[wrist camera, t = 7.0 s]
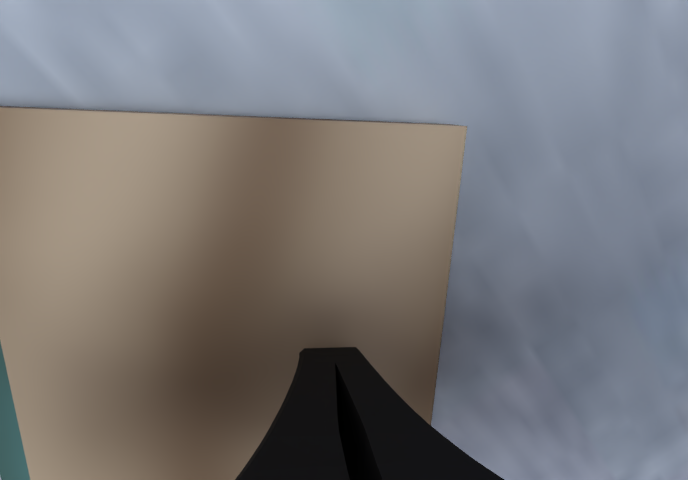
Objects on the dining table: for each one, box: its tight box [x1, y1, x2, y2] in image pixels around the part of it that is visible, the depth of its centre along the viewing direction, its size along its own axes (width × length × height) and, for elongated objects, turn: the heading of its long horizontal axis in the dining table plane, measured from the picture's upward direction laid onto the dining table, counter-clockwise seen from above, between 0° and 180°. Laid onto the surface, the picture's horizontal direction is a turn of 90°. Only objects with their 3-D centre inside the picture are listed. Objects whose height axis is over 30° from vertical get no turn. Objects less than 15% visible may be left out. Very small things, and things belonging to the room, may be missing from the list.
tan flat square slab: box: [0, 106, 467, 480], centre depth 11 cm, size 11×12×1 cm
